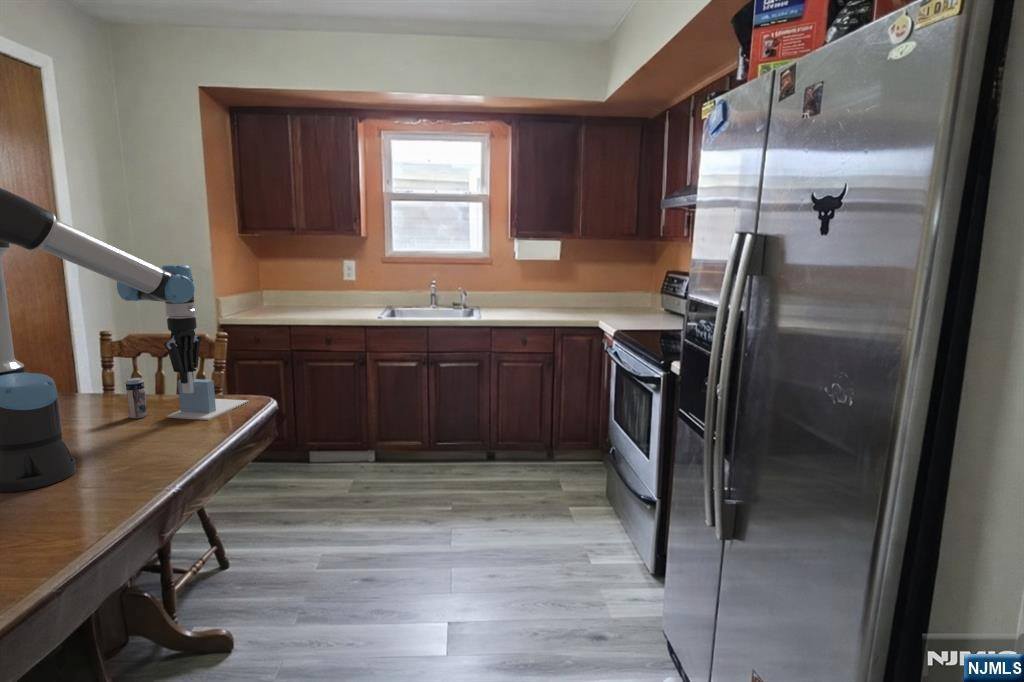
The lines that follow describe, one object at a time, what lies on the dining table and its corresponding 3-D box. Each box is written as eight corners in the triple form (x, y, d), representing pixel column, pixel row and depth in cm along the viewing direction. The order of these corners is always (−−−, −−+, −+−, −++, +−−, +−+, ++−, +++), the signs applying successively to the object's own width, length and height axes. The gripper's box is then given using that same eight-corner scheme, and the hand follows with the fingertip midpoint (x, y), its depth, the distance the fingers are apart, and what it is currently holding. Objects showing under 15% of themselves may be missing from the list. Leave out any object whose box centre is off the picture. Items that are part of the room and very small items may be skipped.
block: (209, 413, 172) (207, 382, 170) (180, 411, 174) (177, 380, 172) (216, 410, 175) (213, 380, 173) (187, 408, 176) (184, 378, 175)
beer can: (140, 419, 167) (136, 381, 165) (125, 419, 167) (121, 380, 165) (151, 414, 172) (147, 377, 170) (136, 414, 172) (132, 377, 170)
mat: (208, 420, 168) (208, 418, 167) (167, 417, 169) (167, 415, 169) (248, 402, 187) (248, 400, 187) (211, 400, 189) (210, 398, 189)
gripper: (176, 319, 159) (184, 399, 163) (207, 314, 171) (213, 387, 175) (153, 319, 160) (161, 397, 164) (185, 313, 172) (192, 386, 176)
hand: (188, 392), depth 170 cm, fingers closed
